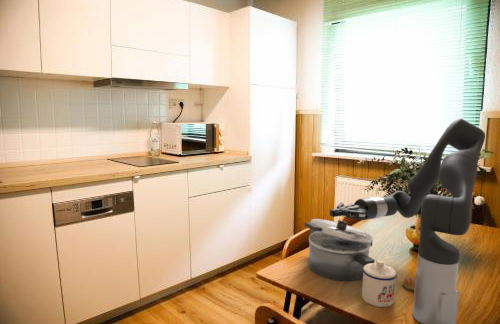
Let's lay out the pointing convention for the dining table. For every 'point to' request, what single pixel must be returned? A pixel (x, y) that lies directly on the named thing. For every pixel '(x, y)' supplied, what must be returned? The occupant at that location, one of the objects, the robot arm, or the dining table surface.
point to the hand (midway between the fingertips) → (331, 213)
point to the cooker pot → (337, 257)
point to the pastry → (409, 283)
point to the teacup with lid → (378, 284)
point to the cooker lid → (339, 230)
